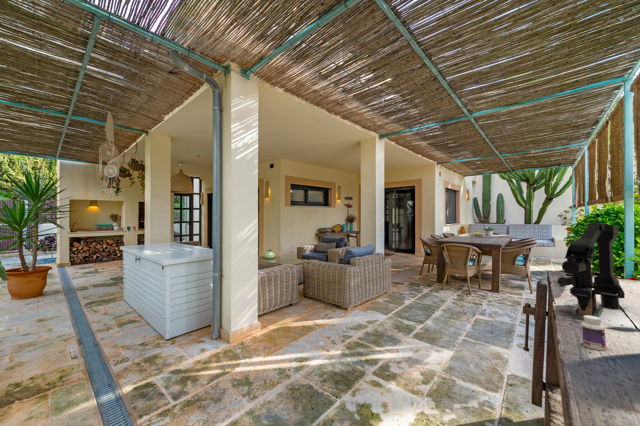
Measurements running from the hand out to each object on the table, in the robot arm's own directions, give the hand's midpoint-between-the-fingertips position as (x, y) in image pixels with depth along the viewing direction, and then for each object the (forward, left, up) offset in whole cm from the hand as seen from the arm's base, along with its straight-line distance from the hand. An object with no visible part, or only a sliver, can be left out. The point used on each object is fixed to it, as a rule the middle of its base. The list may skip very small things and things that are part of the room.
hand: (585, 308), depth 114 cm
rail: (-6, 0, -4) cm, 7 cm away
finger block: (0, 0, -3) cm, 3 cm away
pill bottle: (+35, +6, -4) cm, 36 cm away
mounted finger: (-11, 0, -3) cm, 12 cm away
